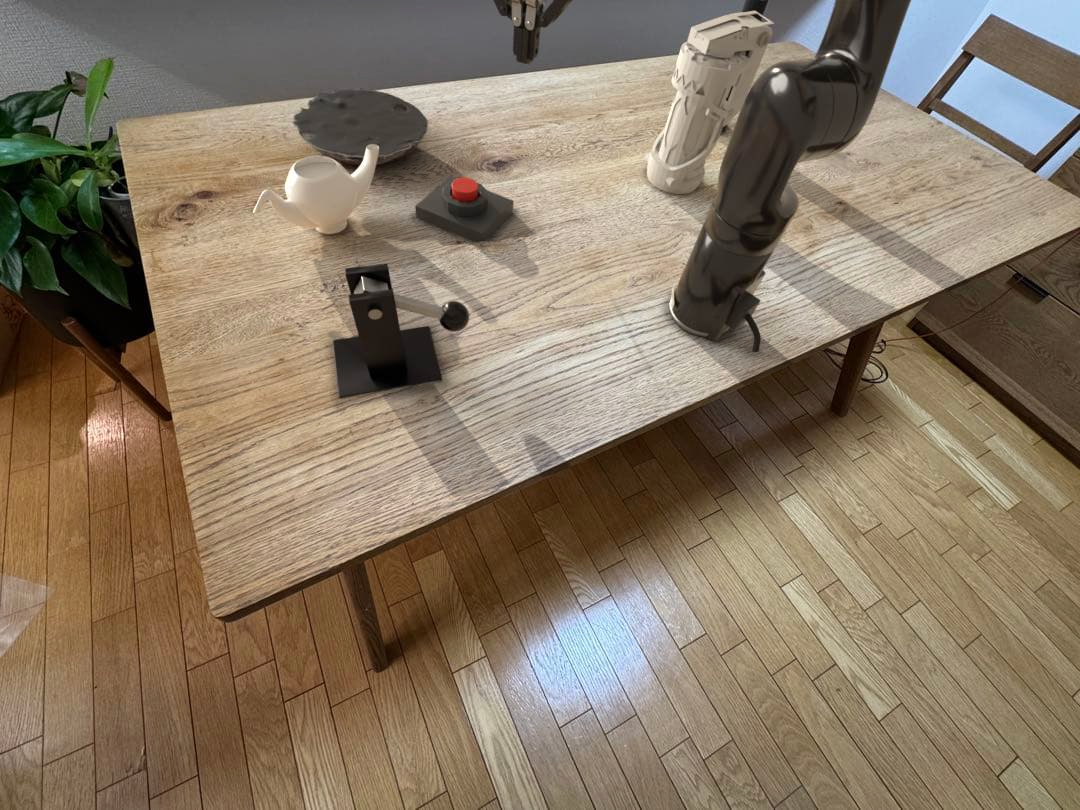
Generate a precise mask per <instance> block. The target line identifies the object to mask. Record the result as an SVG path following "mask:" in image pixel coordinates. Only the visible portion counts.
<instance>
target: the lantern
mask: <svg viewBox="0 0 1080 810" xmlns="http://www.w3.org/2000/svg"><path fill="white" fill-rule="evenodd" d="M752 14H758V15H759V13H758V12H756V11H750V12H742V11H741V12H735V13H729V14H725V15H722V16H719V17H716V18H714V19H710V20H707V21H704V22H701V23H699V24H696V25H693V26H691V27H690V30H689V33H688V37H687V40H686V41H685V42H684V43H682V44H681V46H680V50H679V53H678V57H677V60H676V64H675V67H674V70H673V74H672V77H671V84H672V86H673V88H674V89H675V93H674V96H673V100H672V103H671V107H670V109H669V110H670V111H669V113H668V117H667V119H666V124H665V126H664V128H663V130H662V131H660V133H659V134H658V136H657V137H656V139H655V141H654V143H653V146H652V148H651V150H650V151H648V152H646V153H645V155H644V156H643V160H644V161H645V162H646V163H647V167H646V176H647V179H648V181H649V182H650V184H652V185H653V186H654V187H655V188H657V189H659V190H661V191H663V192H665V193H669V194H674V195H686V194H687V195H688V194H690V193H692V192H694V191H696V189H697V188H699V187H698V186H700V184H701V182H702V180H703V178H704V177H705V174H706V170H705V165H706V160H707V158H708V157H709V155H710V154H711V153H712V151H713V150H714V148H715V147H716V145H717V143H718V141H719V139H720V136H721V134H722V132H721V131H722V128H723V127H724V126H726V125H727V126H728V124H729V123H730V122H731V121H732V120H733V119H734V118H735V117H736V115H737V114H739V113H740V110H741V108H742V105H743V103H744V101H745V98H746V96H747V94H748V93H749V91H750V89H751V87H752V86H753V82H754V81H755V80H754V79H755V77H756V75H757V72H758V69H759V68H760V65H761V63H762V60H763V57H764V55H765V53H766V50H767V48H768V45H769V43H770V41H771V37H772V35H773V28H772V27H770V26H771V25H772V26H773V25H775V22H774V21H772V20H770V19H769V18H767V16H764V15H763V16H762V15H761V14H760V16H761V17H762V19H764V20H766V21H759V20H758V19H756V18H755V17H753V16H751V15H752ZM747 50H750V52H749V55H748V57H746V56H745V51H747ZM733 85H734V86H733ZM732 86H733V89H732V91H731V94H730V96H729V99H728V102H727V101H726V98H727V97H728V94H729V92H730V89H731V87H732Z"/></svg>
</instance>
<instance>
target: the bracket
mask: <svg viewBox="0 0 1080 810" xmlns="http://www.w3.org/2000/svg"><path fill="white" fill-rule="evenodd" d="M344 275H345V278H346V282H347V286H348V290H349V293H350V294H348V296H347V297H348V302H349V305H350V310H351V313H352V318H353V322H354V323H355V328H356V332H357V335H358V336H353V337H346V338H338V339H333V340H332V348H333V357H334V358H333V359H334V366H335V375H336V382H337V392H338V394H337V395H338V398H339V399H340V398H346V397H351V396H352V397H353V396H357V395H364V394H369V393H375V392H381V391H386V390H387V391H388V390H392V389H399V388H404V387H409V386H415V385H421V384H427V383H431V382H437V381H442V380H443V378H442V374H441V370H440V366H439V362H438V358H437V354H436V350H435V345H434V342H433V338H432V337H433V336H432V333H431V330H430V326H429V325H426V326H420V327H419V326H418V327H413V328H405V329H401V327H400V321H399V315H398V310H397V309H398V308H396V304H395V298H394V294H395V293H394V289H393V286H392V281H391V274H390V270H389V265H388V263H379V264H369V265H362V266H353V267H352V266H351V267H345V268H344ZM362 276H363V277H367V278H370V279H374V280H377V281H381V282H384V283H387V285H388V290H382V291H374V292H367V293H359V294H354V291H355V289H356V287H357V285H358V283H359V281H360V279H361V277H362Z"/></svg>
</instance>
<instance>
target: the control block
mask: <svg viewBox="0 0 1080 810" xmlns="http://www.w3.org/2000/svg"><path fill="white" fill-rule="evenodd" d="M456 179H458V178H457V177H454V176H451V175H449V176H447V178H445V179H444V180H443V181H442V182H441V183H439V184H438V185H437V186H436V187H435V188H434V189H433V190H432V191H430V192H429V193H428V194H427V195H426V196H425V197H423V198H422V200H420V201H418V202H417V204H416V205H414V207H415V216H416V219H418V220H420V221H423V222H426V223H428V224H431V225H433V226H435V227H437V228H440V229H442V230H445V231H446V232H449V233H452V234H454V235H457V236H460V238H461V237H462V238H464V239H466V240H469V241H471V242H474V243H483V242H484V243H485V242H488V240H489V239H490V238H491V237H492V236H493V235H494V233H496V231H497V230H498V229H499V228H500V227H501V226H502V225H503V224H504V223H505V221H506V220H507V219H508V218H509V217H510V216H511V215H512V214H513V213H514V202H515V201H514V200H513V199H510V198H508V197H505V196H503V195H500V194H497V193H495V192H492V191H491V190H488V189H487V188H485V186H484V185H483V184H481V183H479V182H477V184H478V198H477V199H476V200H474V201H471V202H460V201H458V200H456V199H454V198H453V196H452V182H453V181H454V180H456Z"/></svg>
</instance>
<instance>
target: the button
mask: <svg viewBox="0 0 1080 810" xmlns="http://www.w3.org/2000/svg"><path fill="white" fill-rule="evenodd" d="M477 183H478V182H477V181H476V180H475V179H473V178H470V177H459V178H457V179H456V180H454V181H453V182H452V196H453V198H454V199H456V200H458V201H460V202H471V201H474V200H476V199H477V198H478V184H477Z"/></svg>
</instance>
